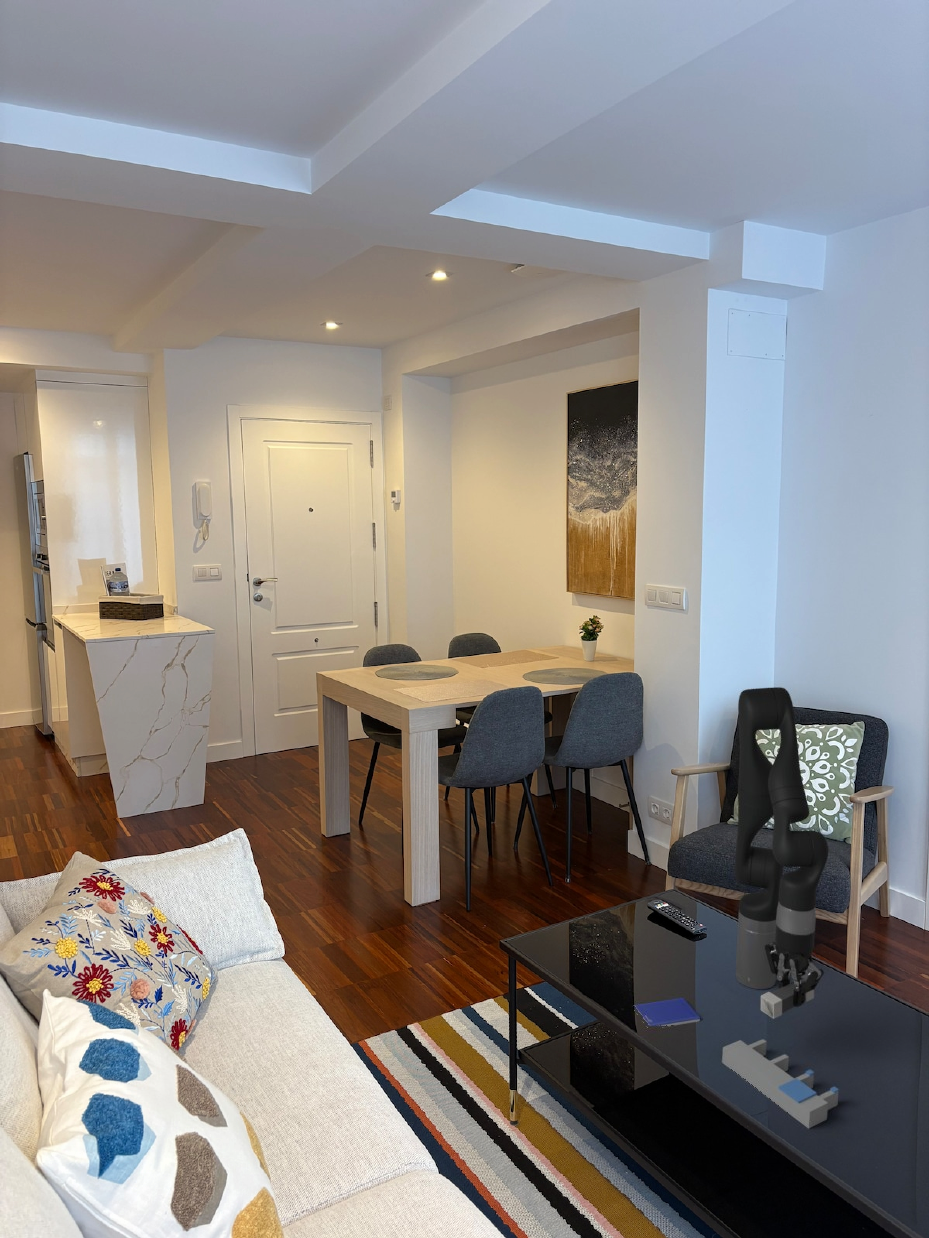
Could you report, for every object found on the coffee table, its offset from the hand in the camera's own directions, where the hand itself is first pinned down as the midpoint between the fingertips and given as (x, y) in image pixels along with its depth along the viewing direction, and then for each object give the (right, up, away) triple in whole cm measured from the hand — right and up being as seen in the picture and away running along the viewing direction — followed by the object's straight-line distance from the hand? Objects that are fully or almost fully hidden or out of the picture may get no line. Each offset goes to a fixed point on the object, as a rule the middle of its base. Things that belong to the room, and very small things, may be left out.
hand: (790, 1000), depth 188 cm
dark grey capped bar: (-1, -1, 0) cm, 1 cm away
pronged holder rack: (-4, -14, -7) cm, 16 cm away
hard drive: (-22, -11, +16) cm, 30 cm away
